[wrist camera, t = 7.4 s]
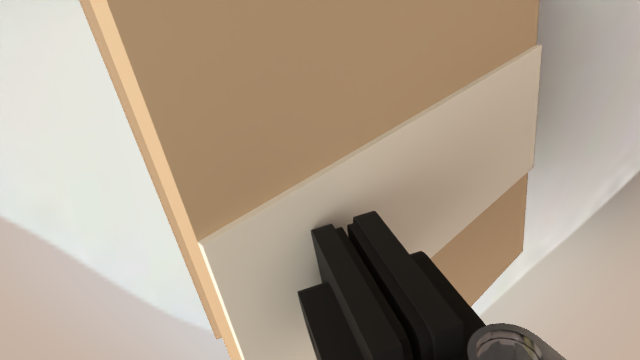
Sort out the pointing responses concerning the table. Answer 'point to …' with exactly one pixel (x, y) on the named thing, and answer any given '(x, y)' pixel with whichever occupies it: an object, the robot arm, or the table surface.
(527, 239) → the table surface
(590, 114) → the table surface
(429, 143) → the lid
